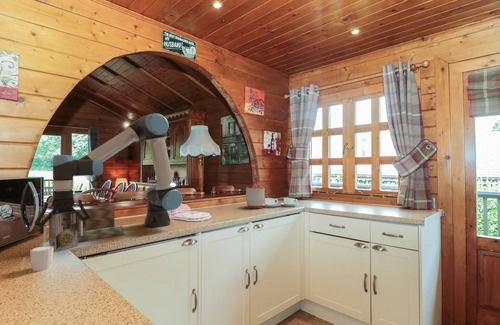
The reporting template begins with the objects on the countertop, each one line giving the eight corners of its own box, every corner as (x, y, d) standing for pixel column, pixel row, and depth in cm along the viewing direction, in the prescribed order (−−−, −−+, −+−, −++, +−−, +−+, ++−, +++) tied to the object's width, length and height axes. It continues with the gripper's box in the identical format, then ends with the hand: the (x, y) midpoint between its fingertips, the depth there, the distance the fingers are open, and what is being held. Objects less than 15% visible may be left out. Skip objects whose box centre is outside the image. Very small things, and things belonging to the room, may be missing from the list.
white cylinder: (28, 268, 99) (28, 248, 99) (52, 263, 104) (51, 244, 104) (31, 273, 94) (31, 252, 94) (55, 268, 99) (55, 248, 99)
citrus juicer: (254, 205, 240) (254, 182, 240) (268, 207, 227) (268, 183, 227) (240, 207, 230) (240, 183, 230) (254, 210, 217) (254, 184, 217)
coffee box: (70, 243, 128) (70, 209, 128) (78, 246, 125) (78, 210, 125) (48, 249, 120) (48, 212, 120) (55, 251, 117) (55, 213, 117)
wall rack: (113, 228, 157) (113, 205, 157) (124, 234, 144) (123, 209, 144) (67, 236, 142) (67, 210, 142) (74, 243, 129) (74, 215, 129)
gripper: (92, 187, 134) (92, 231, 134) (26, 191, 117) (26, 241, 117) (96, 188, 128) (97, 234, 128) (28, 192, 111) (28, 245, 112)
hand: (63, 238), depth 123 cm, fingers open, 13 cm apart
